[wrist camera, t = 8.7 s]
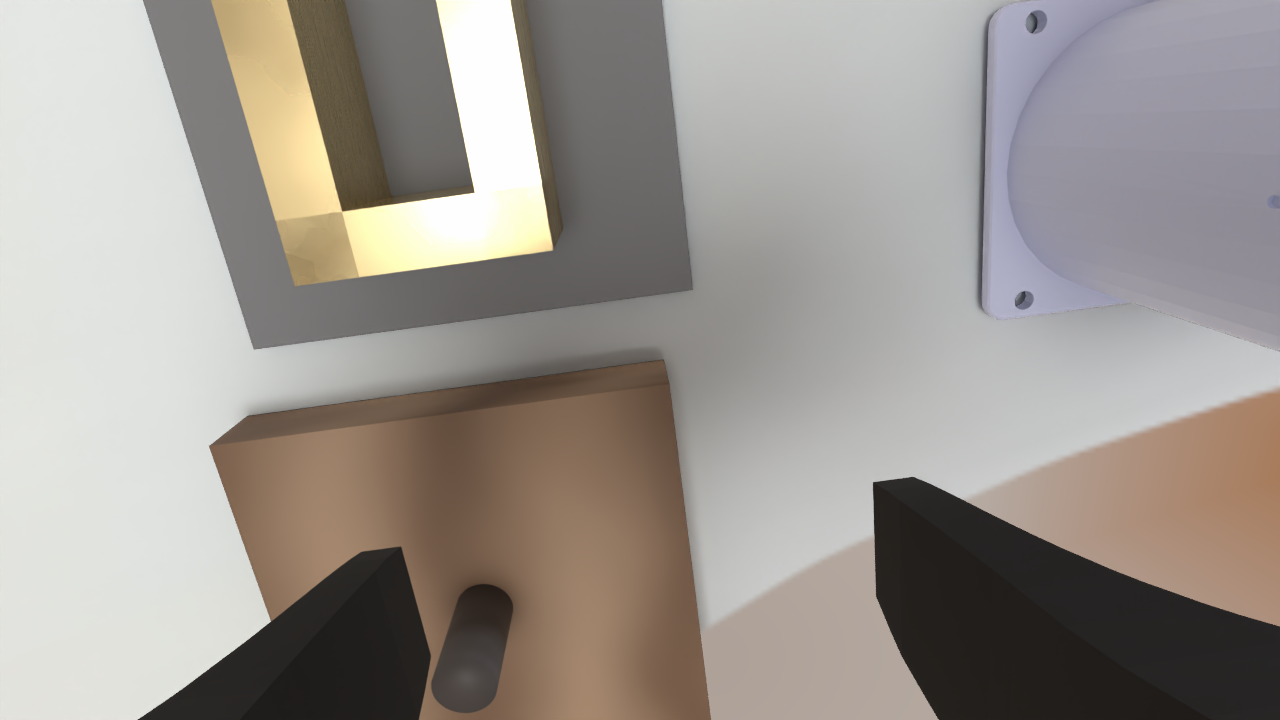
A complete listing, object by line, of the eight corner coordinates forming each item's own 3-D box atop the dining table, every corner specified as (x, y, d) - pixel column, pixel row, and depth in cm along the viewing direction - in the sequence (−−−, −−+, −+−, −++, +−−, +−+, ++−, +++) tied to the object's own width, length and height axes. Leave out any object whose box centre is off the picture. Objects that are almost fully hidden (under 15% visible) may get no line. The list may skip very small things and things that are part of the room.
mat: (634, -238, 16) (634, -247, 15) (691, 286, 19) (692, 289, 19) (101, -165, 16) (88, -172, 15) (260, 345, 19) (254, 349, 19)
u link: (563, 228, 18) (553, 250, 15) (351, 257, 18) (294, 286, 15) (504, -126, 16) (477, -193, 13) (259, -91, 16) (167, -150, 13)
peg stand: (663, 359, 20) (680, 431, 15) (705, 693, 24) (729, 833, 19) (247, 416, 20) (135, 504, 15) (354, 740, 24) (290, 892, 19)
